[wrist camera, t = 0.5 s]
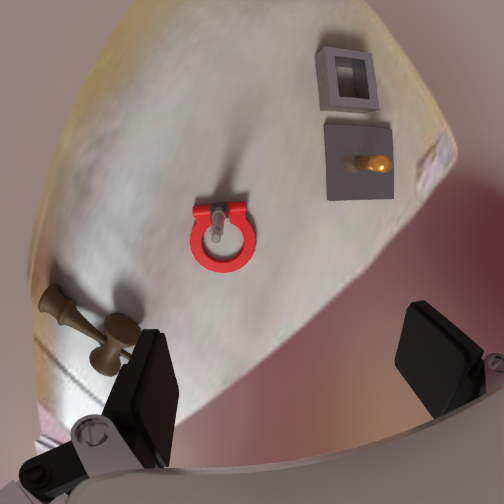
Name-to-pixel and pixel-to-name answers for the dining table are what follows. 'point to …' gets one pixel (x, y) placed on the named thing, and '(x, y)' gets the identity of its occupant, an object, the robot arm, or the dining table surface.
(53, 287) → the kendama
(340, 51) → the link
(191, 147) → the dining table surface
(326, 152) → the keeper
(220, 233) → the tow hook
